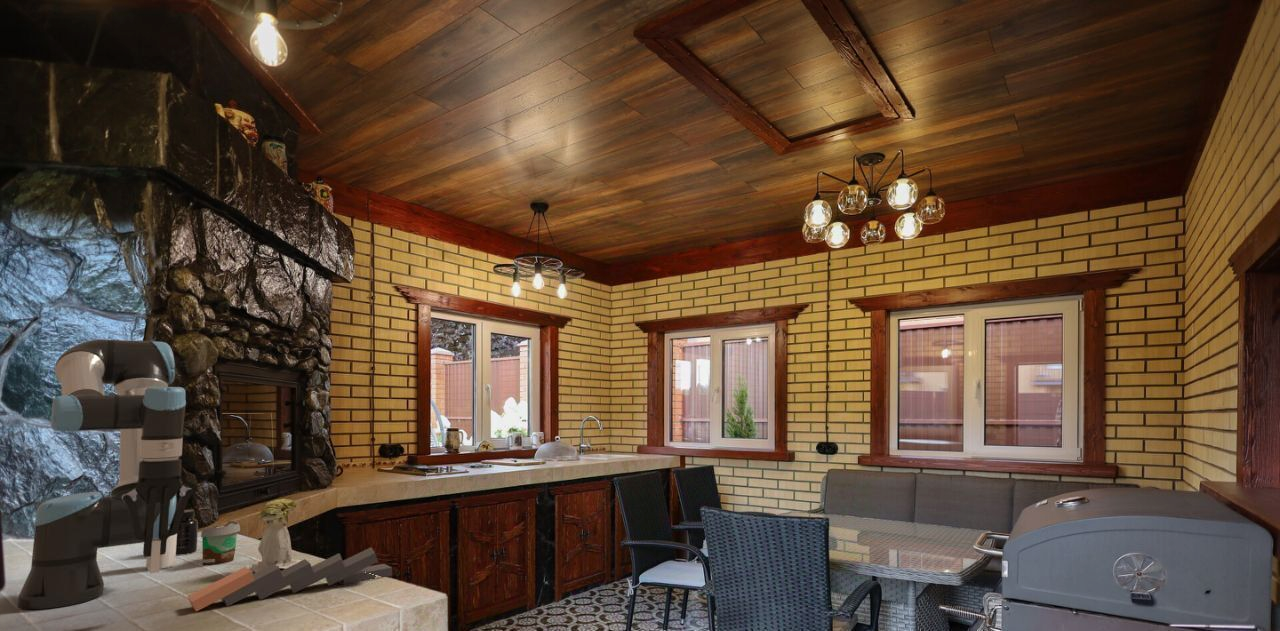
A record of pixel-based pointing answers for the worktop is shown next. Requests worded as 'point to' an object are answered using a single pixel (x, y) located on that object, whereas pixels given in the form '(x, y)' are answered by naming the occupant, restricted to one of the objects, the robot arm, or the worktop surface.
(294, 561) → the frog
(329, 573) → the domino
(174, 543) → the can
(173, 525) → the robot arm
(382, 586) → the worktop surface
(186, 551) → the supplement bottle
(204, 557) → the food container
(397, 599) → the worktop surface
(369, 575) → the domino
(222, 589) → the domino
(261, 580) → the domino
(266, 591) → the domino
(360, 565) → the domino
